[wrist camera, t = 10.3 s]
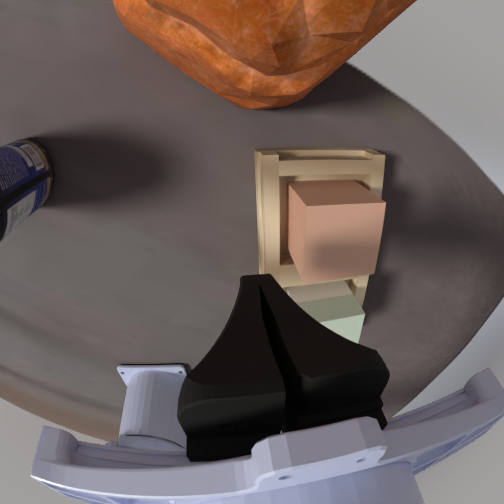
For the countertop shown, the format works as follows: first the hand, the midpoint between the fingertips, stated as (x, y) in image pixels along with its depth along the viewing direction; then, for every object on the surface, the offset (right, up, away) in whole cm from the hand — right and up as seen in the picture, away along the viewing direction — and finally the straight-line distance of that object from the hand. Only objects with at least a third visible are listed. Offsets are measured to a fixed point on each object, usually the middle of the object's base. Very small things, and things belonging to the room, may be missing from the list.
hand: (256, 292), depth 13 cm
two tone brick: (+5, -3, +12) cm, 14 cm away
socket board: (+5, +2, +11) cm, 12 cm away
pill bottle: (-18, +8, +5) cm, 21 cm away
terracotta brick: (+5, +5, +8) cm, 10 cm away
